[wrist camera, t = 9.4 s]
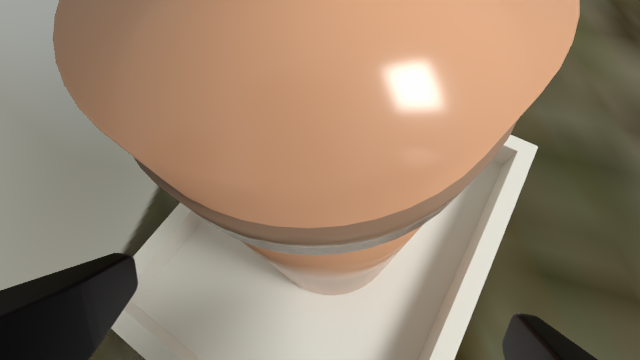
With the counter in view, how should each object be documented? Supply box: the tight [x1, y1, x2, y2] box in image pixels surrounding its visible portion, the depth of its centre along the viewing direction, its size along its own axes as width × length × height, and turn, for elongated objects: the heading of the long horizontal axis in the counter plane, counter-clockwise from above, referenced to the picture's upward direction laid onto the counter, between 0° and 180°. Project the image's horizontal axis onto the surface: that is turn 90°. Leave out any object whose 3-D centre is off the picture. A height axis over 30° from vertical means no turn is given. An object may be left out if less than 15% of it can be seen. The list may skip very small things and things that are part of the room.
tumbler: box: [53, 0, 579, 295], centre depth 10 cm, size 7×7×13 cm
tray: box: [111, 135, 538, 360], centre depth 16 cm, size 18×14×2 cm
